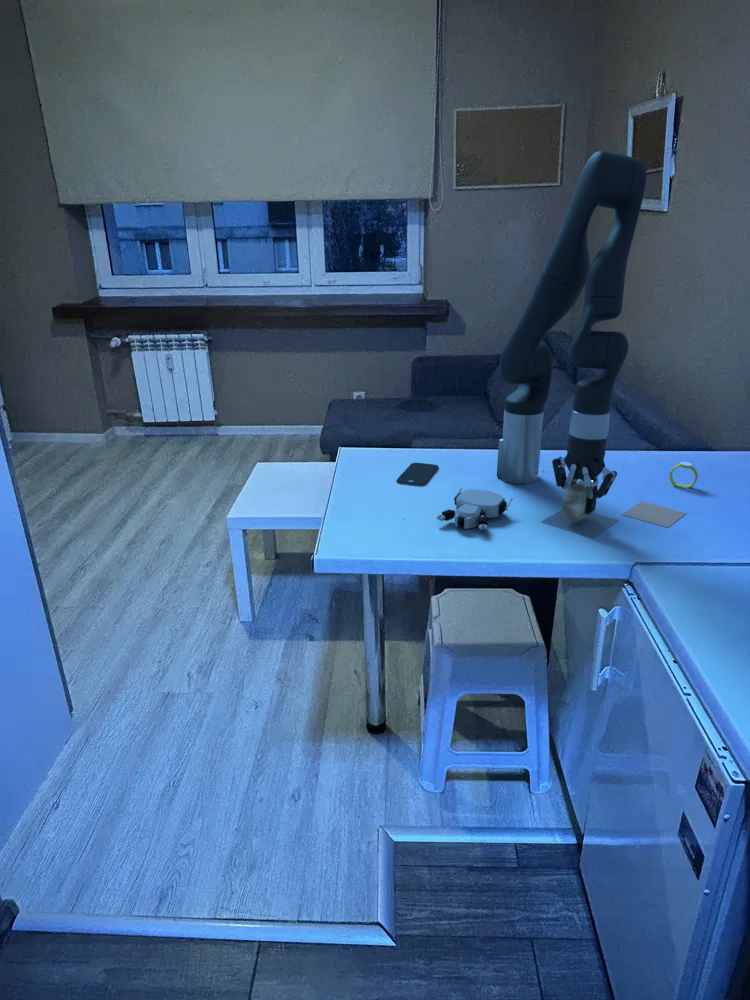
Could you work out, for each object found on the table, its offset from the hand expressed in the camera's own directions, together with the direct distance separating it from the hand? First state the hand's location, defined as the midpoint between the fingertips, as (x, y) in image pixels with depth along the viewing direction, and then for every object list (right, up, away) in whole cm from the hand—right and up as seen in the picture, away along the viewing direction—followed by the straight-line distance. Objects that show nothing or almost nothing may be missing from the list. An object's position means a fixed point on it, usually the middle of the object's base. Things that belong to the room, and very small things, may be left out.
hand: (578, 509), depth 144 cm
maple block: (0, -1, 0) cm, 1 cm away
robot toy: (-22, -2, +3) cm, 22 cm away
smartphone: (-32, +8, +29) cm, 44 cm away
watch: (+30, +5, +19) cm, 36 cm away
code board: (+1, -3, +1) cm, 3 cm away
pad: (+17, -1, +4) cm, 18 cm away
